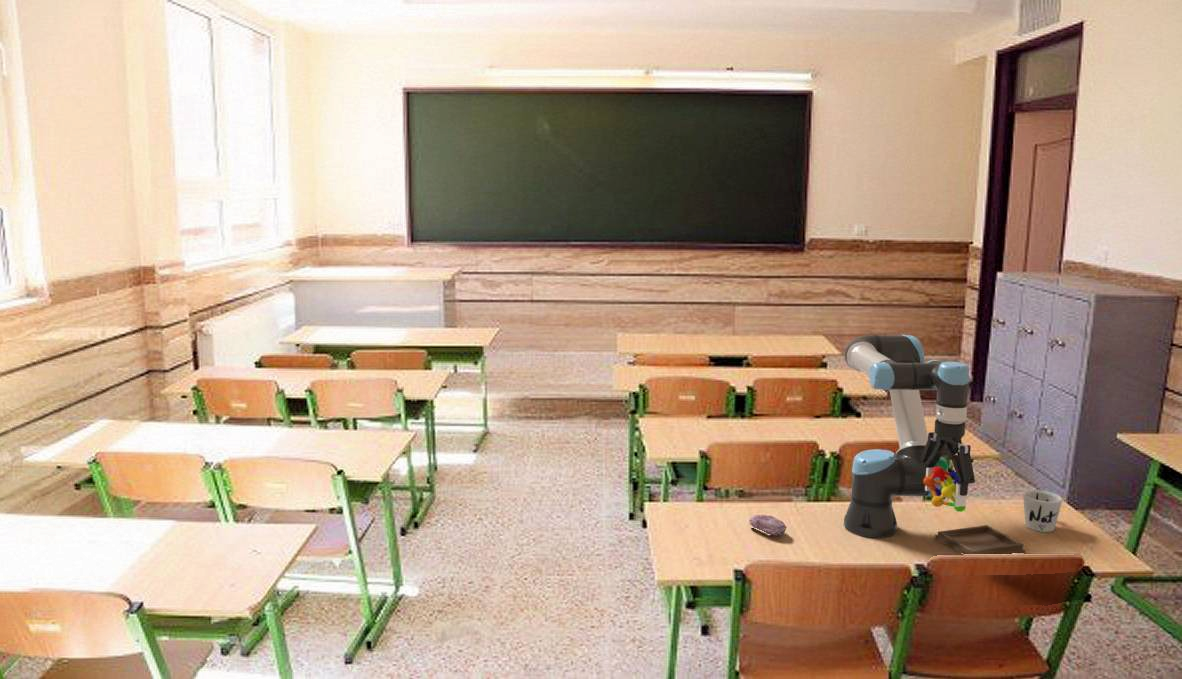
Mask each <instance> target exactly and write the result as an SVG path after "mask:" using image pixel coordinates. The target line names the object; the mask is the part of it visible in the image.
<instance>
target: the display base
mask: <svg viewBox="0 0 1182 679" xmlns="http://www.w3.org/2000/svg"><path fill="white" fill-rule="evenodd" d="M934 539H935V540H937V542H940V543H941V544H944V545H945V546H947V547H948V548H950V549H951V550H953V551H955V552H957V553H959V554H960V553H963V554H1012V553H1025V554H1026V550H1025V549H1024V543H1021V542H1020V541H1018V540H1016V539H1014V538H1012V537H1010V536H1008V535H1006V534H1005V533H1003V532H1001V531H999V530H997V529H995V528H993V527H991V526H990V525H987V524H985V525H978V526H970V527H969V526H968V527H963V528H955V529H948V530H941V531H937V534H935V536H934Z"/></svg>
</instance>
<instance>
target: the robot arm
mask: <svg viewBox="0 0 1182 679" xmlns="http://www.w3.org/2000/svg"><path fill="white" fill-rule="evenodd" d="M924 351H925V350H924V348H923V345H922V343H921V341H920V339H918V338H917V337H916V336H915V335H910V334H897V335H896V334H895V335H894V334H889V335H888V334H866V335H864V334H863V335H861V336H858V337H856V338H854V339H853V340H851V341H850V342H849V343H848V344H847V346H846V347H845V350H844V353H843V354H844V360H845V363H846V364H847V366H849V367H850V368H851V369H852V370H853V371H856V372H858V373H861V372H862V373H864V374H865V375H867V376H868V379H869V383H870V386H871V388H872V389H874V390H882V391H889V394H890V396H889V397H890V402H891V406H892V413H893V417H894V418H893V419H894V424H895V428H896V435H897V439H898V446H899V448H898V449H897V451H895V452H893V451H891V450H888V449H881V448H879V449H877V448H875V449H866V450H863V451H860V452H859V453H857V454H856V455H855V456H854V458H853V461H852V462H853V463H852V467H851V472H852V478H851V495H850V496H851V498H850V503H849V504H848V505H849V506H848V507H847V510H846V513H845V515H844V518H843V526H845V527H844V528H845V529H846V530H847V531H849V532H850V531H851V532H850V533H852V532H853V534H855V533H856V535H858V536H863V537H866V538H867V537H868V538H876V539H877V538H880V539H881V538H887V537H891V536H894V535H895V534H896V533H897V532H898V521H897V518H896V514H895V510H894V509H893V497H896V496H897V497H924V498H928V497H933V494H932V492H931V490H930V487H927V486H926V485H925V484H924V482H923V480H924V478H925V477H927V476H932V474H933V469H934V468H935V467H937V465H936V464H937V462H938V461H939V460H944V461H946V462H947V463H948V461H947V460H946V458H945V456H944V457H943V454H945V455H946V456H948V458H949V460H951V461H952V465H953V468H954V473H956V474H957V477H958V480H959V482H957V483H956V496H954V498H955V506H956V507H961V506H965V505H967V504H966V500H967V496H968V493H969V491H968V490H969V485H970V484H975V482H976V478H975V475H974V467H973V462H972V457H971V448H972V447H971V445H970V444H966V445H965V444H963V441H962V439H963V437H964V436H965V434H966V424H967V423H966V422H965V421H967V411H968V397H969V388H970V386H969V385H970V380H971V376H970V367H969V365H968V364H967V363H964V362H963V363H962V362H959V361H942V360H936V359H931V360H928V361H926V362H925V358H924V357H925V352H924ZM920 391H935V392H936V401H935V402H936V405H935V407H936V408H935V418H936V419H935V420H934V430H933V431H932V432H928V430H927V425H926V424H927V423H926V420H925V414H924V409H923V405H922V401H921V399H922V398H921V394H920ZM947 471H948V472H949V469H948V468H947ZM945 476H946V475H945ZM934 480H935V481H940V479H939V477H936V478H935V479H934ZM944 481H945V480H944ZM945 482H946V481H945ZM934 485H935V486H936V487H937V488H938V489H939V490H940V489H941V490H942V489H943V486H942V485H937V484H934ZM935 492H936V491H935Z"/></svg>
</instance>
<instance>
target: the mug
mask: <svg viewBox="0 0 1182 679" xmlns="http://www.w3.org/2000/svg"><path fill="white" fill-rule="evenodd" d="M1022 498H1023V499H1022V500H1023V510H1024V511H1023V512H1024V521H1025V527H1026V528H1028V529H1030V530H1032V531H1035V532H1039V533H1051V532H1053V531H1054V530H1055V527H1056V525H1057V521H1058V517H1059V514H1060V511H1061V507H1062V504H1063V497H1062V496H1060V495H1058V494H1057V493H1054V492H1052V491H1046V490H1040V489H1032V490H1031V489H1030V490H1029V489H1028V490H1025V491H1023V493H1022Z"/></svg>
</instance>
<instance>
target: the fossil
mask: <svg viewBox="0 0 1182 679" xmlns="http://www.w3.org/2000/svg"><path fill="white" fill-rule="evenodd" d="M750 524H751V525H752V526H753V527H754V528H757V529H759V530H762V531H764V532H766V533H767V534H770V535H779V536H781V535H780V534H782V535H784V533H786V530H787V528H788V527H787V525H786V524H785V523H784V522H783V521H782V520H780V519H778V518H776V517H775V516H772V515H764V514H755V515H753V516H751V517H750V518H749V525H750Z"/></svg>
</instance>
